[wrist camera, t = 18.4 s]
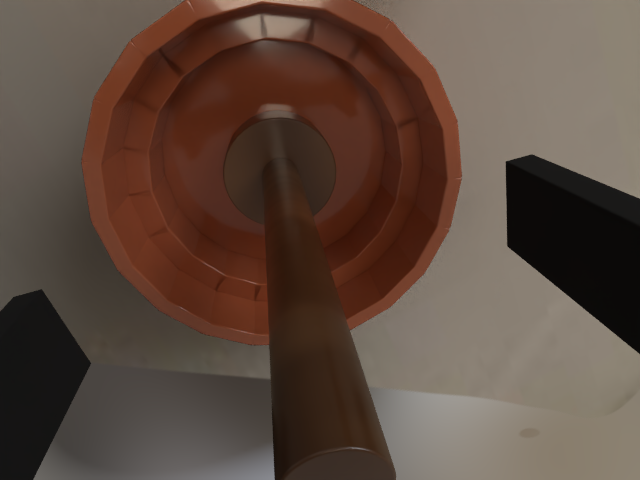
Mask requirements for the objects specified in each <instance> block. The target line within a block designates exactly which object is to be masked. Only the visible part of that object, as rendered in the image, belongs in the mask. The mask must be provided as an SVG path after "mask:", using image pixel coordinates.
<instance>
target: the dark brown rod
mask: <svg viewBox="0 0 640 480" xmlns="http://www.w3.org/2000/svg"><path fill="white" fill-rule="evenodd" d="M223 179H224V185H225V188H226V191H227V193H228V196H229V198H230V199H231V201H232V203H233V204H234V205H235V206H236V208H237V209H238V210H239V211H240V212H241V213H242V214H244V215H245V216H246V217H248V218H249V219H251V220H253V221H255V222H257V223H260V224H263V225H264V226H265V250H266V275H267V300H268V324H269V349H270V374H271V398H272V423H273V444H274V445H273V446H274V447H273V448H274V472H275V480H396V472H395V468H394V465H393V462H392V459H391V456H390V453H389V450H388V447H387V444H386V441H385V438H384V434H383V431H382V428H381V425H380V422H379V419H378V416H377V413H376V410H375V407H374V403H373V400H372V397H371V394H370V391H369V388H368V385H367V382H366V379H365V376H364V373H363V369H362V366H361V363H360V360H359V357H358V354H357V351H356V348H355V345H354V342H353V338H352V335H351V332H350V329H349V326H348V323H347V320H346V317H345V314H344V311H343V308H342V304H341V301H340V298H339V295H338V292H337V289H336V286H335V283H334V280H333V277H332V274H331V270H330V267H329V264H328V261H327V258H326V255H325V252H324V249H323V246H322V243H321V239H320V236H319V233H318V230H317V227H316V224H315V221H314V218H313V216H315V215H316V214H317V213H318V212H319V211H320V210H321V209H322V208H323V207H324V206H325V204H326V203H327V202H328V200H329V198H330V196H331V194H332V192H333V189H334V186H335V182H336V163H335V159H334V155H333V153H332V150H331V148H330V146H329V145H328V143H327V141H326V140H325V138H324V137H323V136H322V134H321V133H320V132H319V130H318V129H317V128H316V127H315V126H314V125H313V124H312V123H311V122H310V121H308V120H307V119H305V118H304V117H302V116H300V115H298V114H295V113H292V112H288V111H280V110H275V111H267V112H263V113H260V114H257V115H255V116H253V117H251V118H249V119H248V120H247V121H245V122H244V123H243V124H242V125H241V126H240V127H239V128H238V129H237V130H236V132H235V133H234V135H233V136H232V138H231V140H230V143H229V146H228V149H227V153H226V156H225V160H224V166H223Z"/></svg>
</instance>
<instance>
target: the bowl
mask: <svg viewBox="0 0 640 480" xmlns="http://www.w3.org/2000/svg"><path fill="white" fill-rule="evenodd" d="M94 98H95V99H93V103H92V108H91V113H90V119H89V124H88V129H87V134H86V139H85V144H84V149H83V155H82V162H81V164H82V170H83V176H84V182H85V188H86V194H87V200H88V206H89V212H90V218H91V221H92V224H93V226H94V228H95V229H96V231H97V233H98V235H99V237H100V239H101V241H102V242H103V244H104V246H105V248H106V250H107V252H108V254H109V255H110V257H111V259H112V261H113V263H114V265H115V267H116V268H117V270H118V271H119V272H120V273H121V274H122V275H123V276H124V277H125V278H126V279H127V280H128V281H129V282H130V283H131V284H132V285H133V286H134V287H135V288H136V289H137V290H138V291H139V292H140V293H141V294H142V295H143V296H144V297H145V298H146V299H147V300H148V301H149V302H150V303H151V304H152V305H153V306H154V307H156V308H157V309H158V310H159V311H161V312H163V313H164V314H166V315H168V316H170V317H172V318H174V319H176V320H178V321H179V322H181V323H183V324H185V325H187V326H189V327H191V328H193V329H194V330H196V331H198V332H200V333H202V334H205V335H209V336H214V337H218V338H222V339H227V340H231V341H235V342H240V343H244V344H248V345H269V324H268V300H267V275H266V250H265V226H264V225H263V224H260V223H257V222H255V221H253V220H251V219H249V218H248V217H246V216H245V215H244V214H242V213H241V212H240V211H239V210H238V209H237V208H236V206H235V205H234V204H233V203H232V201H231V199H230V198H229V196H228V193H227V191H226V188H225V185H224V179H223V166H224V160H225V156H226V153H227V149H228V146H229V143H230V140H231V138H232V136H233V135H234V133H235V132H236V130H237V129H238V128H239V127H240V126H241V125H242V124H243V123H244V122H245V121H247V120H248V119H249V118H251V117H253V116H255V115H257V114H260V113H263V112H267V111H275V110H280V111H288V112H292V113H295V114H298V115H300V116H302V117H304V118H305V119H307V120H308V121H310V122H311V123H312V124H313V125H314V126H315V127H316V128H317V129H318V130H319V132H320V133H321V134H322V136H323V137H324V138H325V140H326V141H327V143H328V145H329V146H330V148H331V150H332V153H333V155H334V159H335V163H336V182H335V186H334V189H333V192H332V194H331V196H330V198H329V200H328V202H327V203H326V204H325V206H324V207H323V208H322V209H321V210H320V211H319V212H318V213H317V214H316V215H315V216H313V218H314V221H315V224H316V227H317V230H318V233H319V236H320V239H321V243H322V246H323V249H324V252H325V255H326V258H327V261H328V264H329V267H330V270H331V274H332V277H333V280H334V283H335V286H336V289H337V292H338V295H339V298H340V301H341V304H342V308H343V311H344V314H345V317H346V320H347V323H348V326H349V329H350V330H352V329H353V328H355V327H357V326H358V325H360V324H362V323H364V322H365V321H367V320H369V319H371V318H372V317H374V316H376V315H378V314H379V313H381V312H383V311H385V310H386V309H388V308H390V307H391V306H392V305H393V304H394V303H395V302H396V301H397V300H398V299H399V298H400V297H401V296H402V295H403V294H404V293H405V292H406V291H407V290H408V289H409V288H410V287H411V286H412V285H413V284H414V283H415V282H416V281H417V280H418V279H419V278H420V277H421V276H422V275H423V274H424V273H425V271H426V270H427V268H428V266H429V265H430V263H431V261H432V259H433V258H434V256H435V254H436V252H437V251H438V249H439V247H440V245H441V244H442V242H443V240H444V238H445V237H446V235H447V233H448V232H449V228H450V227H451V222H452V218H453V214H454V210H455V205H456V201H457V197H458V193H459V188H460V184H461V180H462V179H461V177H462V172H461V159H460V146H459V133H458V123H457V122H458V121H457V119H456V116H455V114H454V111H453V109H452V107H451V104H450V102H449V100H448V97H447V95H446V93H445V90H444V88H443V86H442V83H441V81H440V79H439V76H438V74H437V71H436V69H435V68H434V66H433V65H432V64H431V63H430V61H429V60H428V59H427V58H426V57H425V56H424V55H423V54H422V53H421V52H420V51H419V50H418V48H417V47H416V46H415V45H414V44H413V43H412V42H411V41H410V40H409V39H408V38H407V36H406V35H405V34H404V33H403V32H402V31H401V30H400V29H399V28H398V27H397V26H396V24H395V23H394V22H393V21H391V20H390V19H389V18H387V17H385V16H383V15H381V14H379V13H377V12H375V11H373V10H371V9H369V8H367V7H365V6H363V5H361V4H359V3H357V2H355V1H354V0H185V1H183V2H182V3H180V4H179V5H178V6H176V7H175V8H174V9H172V10H171V11H169V12H168V13H167V14H165V15H164V16H163V17H161V18H160V19H158V20H157V21H156V22H154V23H153V24H152V25H150V26H149V27H147V28H146V29H145V30H143V31H142V32H141V33H139V34H138V35H136V36H135V37H134V38H132V39H131V41H129V43H128V44H127V46H126V47H125V49H124V50H123V52H122V54H121V55H120V57H119V58H118V60H117V61H116V63H115V65H114V66H113V68H112V69H111V71H110V73H109V74H108V76H107V77H106V79H105V80H104V82H103V84H102V85H101V87H100V88H99V90H98V92H97V93H96V95H95V96H94Z"/></svg>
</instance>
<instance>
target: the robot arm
mask: <svg viewBox="0 0 640 480" xmlns="http://www.w3.org/2000/svg"><path fill="white" fill-rule="evenodd" d="M506 197H507V246H508V247H509V248H510V249H511V250H513V251H514V252H515V253H516V254H517V255H519V256H520V257H521V258H522V259H524V260H525V261H526V262H527V263H529V264H530V265H531V266H532V267H533V268H535V269H536V270H537V271H538V272H540V273H541V274H542V275H543V276H545V277H546V278H547V279H548V280H549V281H551V282H552V283H553V284H554V285H556V286H557V287H558V288H559V289H561V290H562V291H563V292H564V293H565V294H567V295H568V296H569V297H570V298H572V299H573V300H574V301H575V302H576V303H578V304H579V305H580V306H581V307H583V308H584V309H585V310H586V311H588V312H589V313H590V314H591V315H592V316H594V317H595V318H596V319H597V320H599V321H600V322H601V323H602V324H604V325H605V326H606V327H607V328H608V329H610V330H611V331H612V332H613V333H615V334H616V335H617V336H618V337H620V338H621V339H622V340H623V341H624V342H626V343H627V344H628V345H629V346H631V347H632V348H633V349H634V350H636V351H637V352H638V353H639V354H640V199H639V198H636V197H634V196H632V195H629V194H627V193H624V192H622V191H620V190H617V189H615V188H612V187H610V186H607V185H605V184H603V183H600V182H598V181H595V180H593V179H590V178H588V177H586V176H583V175H581V174H578V173H576V172H573V171H571V170H569V169H566V168H564V167H561V166H559V165H556V164H554V163H552V162H549V161H547V160H544V159H542V158H539V157H537V156H535V155H528V156H524V157H521V158H517V159H514V160H510V161H506ZM90 364H91V363H90V361H89V360H88V358H87V357H86V355H85V354H84V352H83V351H82V349H81V348H80V346H79V345H78V343H77V342H76V340H75V339H74V337H73V336H72V334H71V333H70V331H69V330H68V328H67V327H66V325H65V324H64V322H63V321H62V319H61V318H60V316H59V315H58V313H57V312H56V310H55V309H54V307H53V306H52V304H51V303H50V301H49V300H48V298H47V297H46V295H45V294H44V292H43V291H42V289H41V290H38V291H34V292H30V293H27V294H23V295H19V296H16V297H13V298H12V299H11V301H10V302H9V303H8V304H7V305H6V306H5V307H4V308H3V309H2V310H1V311H0V480H33V478H34V477H35V475H36V472H37V470H38V469H39V467H40V465H41V462H42V461H43V458H44V456H45V455H46V452H47V450H48V448H49V446H50V444H51V442H52V440H53V438H54V436H55V434H56V432H57V430H58V428H59V426H60V424H61V422H62V420H63V418H64V416H65V414H66V412H67V410H68V408H69V406H70V404H71V402H72V400H73V398H74V396H75V394H76V392H77V390H78V388H79V386H80V384H81V382H82V380H83V378H84V376H85V374H86V372H87V370H88V368H89V366H90Z"/></svg>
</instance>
